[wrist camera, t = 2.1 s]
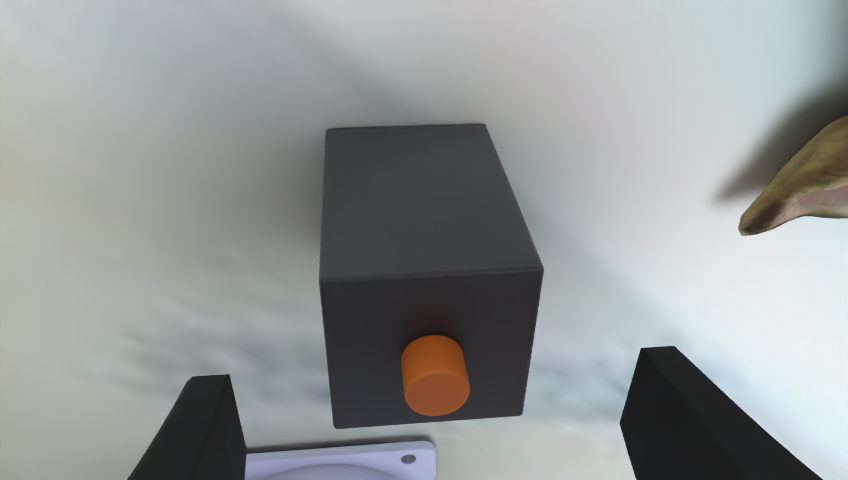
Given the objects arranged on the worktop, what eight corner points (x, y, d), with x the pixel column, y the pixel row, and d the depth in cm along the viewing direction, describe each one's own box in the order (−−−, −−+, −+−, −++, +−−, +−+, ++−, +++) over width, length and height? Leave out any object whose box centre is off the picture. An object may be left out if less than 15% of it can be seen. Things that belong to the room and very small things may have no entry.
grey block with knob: (335, 258, 19) (333, 472, 13) (325, 127, 16) (317, 318, 11) (476, 251, 19) (534, 457, 13) (486, 122, 17) (561, 304, 11)
